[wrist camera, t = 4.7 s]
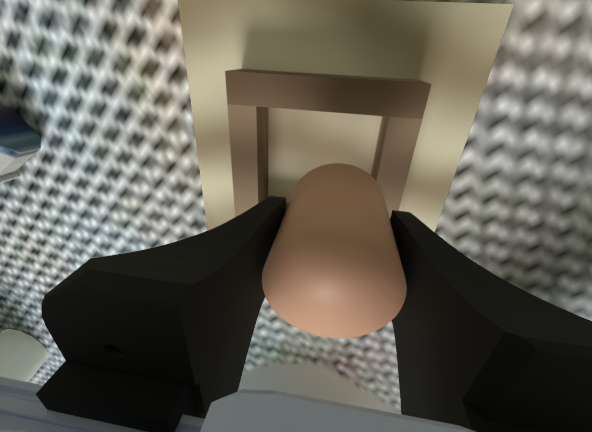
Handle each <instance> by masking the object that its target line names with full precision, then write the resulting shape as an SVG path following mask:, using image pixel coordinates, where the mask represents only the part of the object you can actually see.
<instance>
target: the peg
mask: <svg viewBox="0 0 592 432" xmlns="http://www.w3.org/2000/svg"><path fill="white" fill-rule="evenodd" d="M262 287H263V291H264V294H265V296H266V299H267V301H268V302H269V304H270V306H271V307H272V308H273V309H274V311H275V312H276V313H277V314H278V315H279V316H280V317H281V318H283V319H284V320H285V321H286V322H288V323H289V324H291V325H293V326H294V327H296V328H298V329H300V330H303V331H305V332H308V333H311V334H314V335H318V336H323V337H330V338H350V337H357V336H362V335H366V334H369V333H371V332H374V331H376V330H378V329H380V328H382V327H383V326H385V325H387V324H388V323H389V322H390V321H391V320H393V319H394V317H395V316H396V315H397V314H398V313H399V311H400V310H401V308H402V306H403V304H404V301H405V297H406V289H407V286H406V279H405V275H404V271H403V268H402V264H401V260H400V256H399V252H398V248H397V245H396V241H395V237H394V233H393V229H392V226H391V222H390V218H389V214H388V210H387V206H386V203H385V199H384V195H383V192H382V190H381V188H380V186H379V184H378V183H377V181H376V180H375V179H374V178H373V177H372V176H371V175H370V174H369V173H367V172H366V171H364V170H362V169H360V168H358V167H356V166H353V165H349V164H343V163H333V164H326V165H322V166H319V167H317V168H315V169H313V170H311V171H310V172H308V173H307V174H305V175H304V176H303V177H302V178H301V179H300V181H299V182H298V183H297V185H296V187H295V189H294V191H293V193H292V196H291V199H290V201H289V204H288V206H287V209H286V211H285V214H284V217H283V219H282V222H281V224H280V227H279V229H278V232H277V235H276V237H275V240H274V242H273V245H272V247H271V250H270V253H269V255H268V258H267V260H266V263H265V265H264V269H263V273H262Z"/></svg>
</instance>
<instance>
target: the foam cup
mask: <svg viewBox="0 0 592 432" xmlns="http://www.w3.org/2000/svg"><path fill="white" fill-rule="evenodd" d="M47 358H48V352H47V350H46V349H45V347H44V346H43V345H42V344H41V343H40V342H39V341H37V340H36V339H35V338H33V337H32V336H30V335H28V334H26V333H24V332H21V331H18V330H13V329H6V330H3V331H1V332H0V376H1V377H6V378H10V379H15V380H20V381H25V382H28V381H29V380H30V379H31V378H32V376H33V375H34V374H35V373H36V371H37V370H38V369H39V368H40V366H41V365H42V364H43V363H44V362H45V360H46V359H47Z"/></svg>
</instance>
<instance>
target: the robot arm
mask: <svg viewBox="0 0 592 432" xmlns="http://www.w3.org/2000/svg"><path fill="white" fill-rule="evenodd" d="M285 211H286V198H285V197H277V196H270V197H268V198H266V199H264V200H263V201H261V202H260V203H258V204H257V205H255V206H253V207H252V208H250V209H249V210H247V211H245V212H244V213H242V214H240V215H238V216H237V217H235V218H233V219H231V220H229V221H227V222H226V223H224V224H222V225H219V226H217V227H215V228H213V229H210V230H208V231H206V232H203V233H201V234H198V235H195V236H192V237H189V238H186V239H183V240H180V241H177V242H174V243H170V244H166V245H162V246H158V247H154V248H150V249H145V250H141V251H136V252H131V253H124V254H118V255H112V256H105V257H99V258H91V259H89V260H88V261H87V262H86V263H84V264H83V265H82V266H81V267H79V268H78V269H77V270H76V271H74V272H73V273H72V274H71V275H69V276H68V277H67V278H66V279H64V280H63V281H62V282H61V283H59V284H58V285H57V286H56V287H54V288H53V289H52V290H51V291H49V292H48V293H47V294H46V295H45V297H44V299H43V301H42V303H41V306H42V318H43V320H44V323H45V325H46V327H47V329H48V331H49V332H50V334H51V336H52V337H53V339H54V341H55V343H56V344H57V346H58V348H59V349H60V351H61V353H62V355H63V356H64V358H65V360H66V361H65V362H64V364H63V365H62V366H61V367H60V368H59V369H58V370H57V371H56V372H55V373H54V374H53V376H52V377H51V378H50V379H49V380H48V381H47V382H46V383H45V384H44V385H39V384H34V383H30V382H25V381H20V380H15V379H10V378H6V377H1V376H0V432H592V321H590V320H587V319H585V318H582V317H580V316H578V315H575V314H573V313H571V312H568V311H566V310H564V309H562V308H559V307H557V306H555V305H553V304H550V303H548V302H546V301H544V300H542V299H540V298H538V297H536V296H533V295H531V294H529V293H528V292H526V291H524V290H522V289H520V288H518V287H516V286H514V285H512V284H510V283H508V282H507V281H505V280H503V279H501V278H499V277H498V276H496V275H494V274H493V273H491V272H489V271H488V270H486V269H484V268H483V267H481V266H480V265H478V264H476V263H475V262H473V261H472V260H470V259H469V258H467V257H466V256H465V255H463V254H462V253H460V252H459V251H458V250H456V249H455V248H454V247H452V246H451V245H450V244H448V243H447V242H446V241H445V240H443V239H442V238H441V237H440V236H438V235H437V234H436V233H435V232H434V231H432V230H431V229H430V228H429V227H428V226H426V225H425V224H424V223H423V222H422V221H420V220H419V219H418V218H417V217H416V216H414V215H413V214H412V213H410V212H405V211H397V210H392V213H391V217H390V222H391V226H392V229H393V233H394V237H395V241H396V245H397V248H398V252H399V256H400V260H401V264H402V268H403V271H404V275H405V279H406V286H407V289H406V297H405V301H404V304H403V306H402V308H401V310H400V311H399V313H398V314H397V315H396V316H395V317H394V319H393V320H392V323H393V328H394V334H395V341H396V351H397V361H398V372H399V385H400V398H401V414H402V415H401V414H396V413H391V412H386V411H380V410H375V409H370V408H364V407H359V406H354V405H349V404H344V403H338V402H333V401H328V400H323V399H318V398H313V397H307V396H302V395H296V394H292V393H287V392H281V391H273V390H247V389H243V390H240V391H238V387H239V383H240V379H241V376H242V372H243V368H244V364H245V360H246V356H247V353H248V349H249V345H250V342H251V338H252V335H253V331H254V327H255V324H256V320H257V317H258V314H259V311H260V308H261V305H262V303H263V301H264V298H265V294H264V291H263V287H262V273H263V269H264V265H265V263H266V260H267V258H268V255H269V253H270V250H271V247H272V245H273V242H274V240H275V237H276V235H277V232H278V229H279V227H280V224H281V222H282V219H283V217H284V214H285Z"/></svg>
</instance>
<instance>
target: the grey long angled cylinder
mask: <svg viewBox="0 0 592 432" xmlns="http://www.w3.org/2000/svg"><path fill="white" fill-rule="evenodd" d="M40 148H41V137H40V136H39V135H38V134H37V133H36V132H35V131H34V130H33V129H32V128H31V127H30V126H29V125H28V124H27V123H26V122H25V121H24V120H23V119H22V118H21V117H20V116H19V115H18V114H17V113H16V112H15V111H13V110H11V109H9V108H7V107H4V106H2V105H0V184H2V183H3V182H6V181H9V180H12V179H15V178H18V177H19V176H20V167H21V166H22V165H23V164H24V163H25V162H26V161H27V160H28V159H29V158H30V157H32V156H33V155H34V154H35V153H36V152H37V151H38V150H39V149H40Z"/></svg>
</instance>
